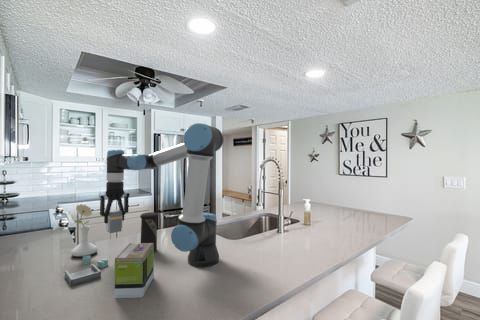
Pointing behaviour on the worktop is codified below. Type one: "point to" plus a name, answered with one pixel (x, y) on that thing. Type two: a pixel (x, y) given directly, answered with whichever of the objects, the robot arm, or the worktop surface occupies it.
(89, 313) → the worktop surface
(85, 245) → the flower in vase
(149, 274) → the tea box
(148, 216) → the container
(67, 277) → the grey square tray
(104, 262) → the clip
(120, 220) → the grey box with stripe
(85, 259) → the clip
